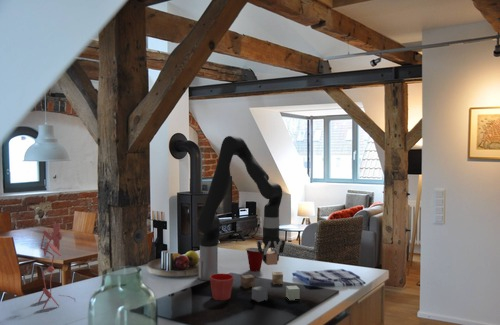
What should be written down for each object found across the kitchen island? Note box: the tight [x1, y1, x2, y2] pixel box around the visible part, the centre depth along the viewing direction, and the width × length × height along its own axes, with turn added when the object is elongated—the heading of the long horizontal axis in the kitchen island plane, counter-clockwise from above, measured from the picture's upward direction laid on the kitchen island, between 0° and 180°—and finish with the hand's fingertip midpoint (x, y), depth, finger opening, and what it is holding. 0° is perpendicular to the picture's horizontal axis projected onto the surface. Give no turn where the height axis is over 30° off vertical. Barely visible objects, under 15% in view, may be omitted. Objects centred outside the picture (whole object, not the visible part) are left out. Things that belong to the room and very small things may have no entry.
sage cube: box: [285, 285, 301, 301], centre depth 215 cm, size 5×5×5 cm
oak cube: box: [271, 271, 284, 286], centre depth 239 cm, size 5×5×5 cm
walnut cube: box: [240, 274, 256, 289], centre depth 233 cm, size 5×5×5 cm
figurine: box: [38, 221, 75, 313], centre depth 205 cm, size 15×26×35 cm, turn 35°
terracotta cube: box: [264, 251, 278, 266], centre depth 225 cm, size 5×5×5 cm
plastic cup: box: [245, 247, 263, 272], centre depth 263 cm, size 11×11×12 cm
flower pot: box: [209, 273, 234, 301], centre depth 215 cm, size 11×11×10 cm
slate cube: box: [251, 285, 268, 303], centre depth 213 cm, size 5×5×5 cm
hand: (270, 261), depth 225 cm, fingers closed on terracotta cube, 5 cm apart
